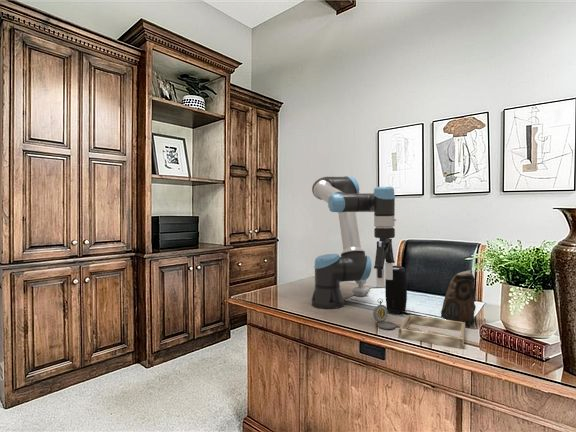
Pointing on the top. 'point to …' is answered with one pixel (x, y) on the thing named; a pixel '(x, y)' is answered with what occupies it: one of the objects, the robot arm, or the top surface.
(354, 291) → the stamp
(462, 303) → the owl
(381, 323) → the pocket watch
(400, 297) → the portable speaker
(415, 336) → the box
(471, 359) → the top surface
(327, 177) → the robot arm
